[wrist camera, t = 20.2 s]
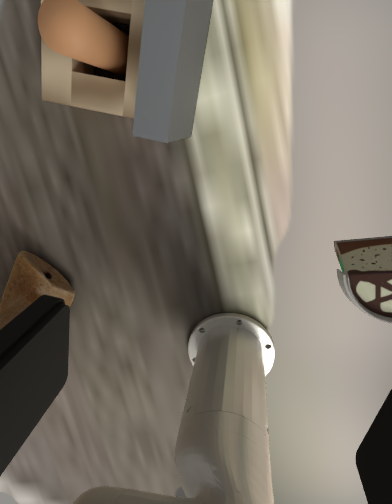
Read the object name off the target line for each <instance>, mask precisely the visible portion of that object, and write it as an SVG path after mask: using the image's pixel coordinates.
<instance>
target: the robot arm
mask: <svg viewBox="0 0 392 504" xmlns="http://www.w3.org/2000/svg"><path fill="white" fill-rule="evenodd" d="M69 315H70V308H69V306H68V305H65V301H64V299H62V298H58V297H54V296H50V295H46V294H45V295H42V296H40V297H39V298H38V299H37V300H35V301H34V302H33V303H32V304H31V305H29V306H28V307H27V308H26V309H25V310H23V311H22V312H21V313H20V314H19V315H17V316H16V317H15V318H14V319H13V320H11V321H10V322H9V323H8V324H7V325H5V326H4V327H3V328H2V329H1V330H0V476H1V474H2V473H3V472H4V470H5V469H6V467H7V466H8V464H9V463H10V462H11V460H12V459H13V457H14V456H15V455H16V453H17V452H18V450H19V449H20V447H21V446H22V445H23V443H24V442H25V440H26V439H27V437H28V436H29V435H30V433H31V432H32V430H33V429H34V428H35V426H36V425H37V423H38V422H39V420H40V419H41V418H42V416H43V415H44V413H45V412H46V410H47V409H48V408H49V406H50V405H51V403H52V402H53V401H54V399H55V398H56V396H57V395H58V393H59V392H60V391H61V389H62V388H63V386H64V384H65V382H66V380H67V376H68V350H69ZM188 354H189V358H190V361H191V363H192V365H193V366H194V367H193V372H192V376H191V380H190V385H189V389H188V393H187V398H186V402H185V406H184V411H183V415H182V419H181V424H180V428H179V432H178V437H177V442H176V448H175V462H176V468H177V473H178V476H179V479H180V482H181V485H182V487H183V490H184V492H185V494H186V496H187V498H184V497H177V496H176V497H172V496H167V495H161V494H155V493H150V492H144V491H138V490H133V489H125V488H119V487H110V486H101V487H95V488H92V489H89V490H88V491H86V492H84V493H83V494H81V495H80V496H79V497H78V498H77V499H76V500H75V501H74V503H73V504H274V497H273V489H272V479H271V467H270V450H269V435H268V434H269V433H268V416H267V399H266V382H265V376H266V375H267V374H268V372H269V371H270V370H271V368H272V366H273V364H274V359H275V348H274V343H273V340H272V338H271V336H270V334H269V332H268V331H267V330H266V329H265V328H264V327H263V326H262V325H261V324H260V323H259V322H257V321H256V320H254V319H252V318H250V317H248V316H245V315H242V314H237V313H220V314H215V315H212V316H210V317H207V318H205V319H204V320H202V321H201V322H200V323H199V324H198V325H197V326H196V327H195V328H194V329H193V331H192V333H191V335H190V338H189V343H188ZM356 465H357V469H358V472H359V475H360V479H361V482H362V485H363V488H364V491H365V495H366V498H367V501H368V504H392V390H391V391H390V393H389V395H388V396H387V398H386V400H385V402H384V403H383V405H382V407H381V409H380V410H379V412H378V414H377V416H376V418H375V419H374V421H373V423H372V425H371V427H370V428H369V431H368V432H367V434H366V435H365V437H364V439H363V441H362V443H361V444H360V446H359V448H358V450H357V452H356Z"/></svg>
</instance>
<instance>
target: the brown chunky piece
mask: <svg viewBox="0 0 392 504" xmlns="http://www.w3.org/2000/svg"><path fill="white" fill-rule="evenodd" d="M45 294H46V295H50V296H54V297H58V298H62V299H64V301H65V305H68V306H69V308H70V306H71V303H72V301H73V299H74V296H75V291H74V289H73V288H72V287H71V286H70V284H69V283H68V281H67V280H66V279H65V278H64V277H63V276H62V274H60V273H59V272H58V270H56V269H55V268H53V267H52V266H51V265H50V264H48V263H47V262H46V261H45V260H43V259H41V258H39V257H38V256H36V255H34V254H31V253H29V252H27V251H20V252H19V254H18V256H17V258H16V260H15V263H14V265H13V268H12V270H11V273H10V276H9V280H8V282H7V284H6V287H5V290H4V293H3V296H2V300H1V303H0V330H1V329H2V328H3V327H4V326H5V325H7V324H8V323H9V322H10V321H11V320H13V319H14V318H15V317H16V316H17V315H19V314H20V313H21V312H22V311H23V310H25V309H26V308H27V307H28V306H29V305H31V304H32V303H33V302H34V301H35V300H37V299H38V298H39V297H40V296H42V295H45Z"/></svg>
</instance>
